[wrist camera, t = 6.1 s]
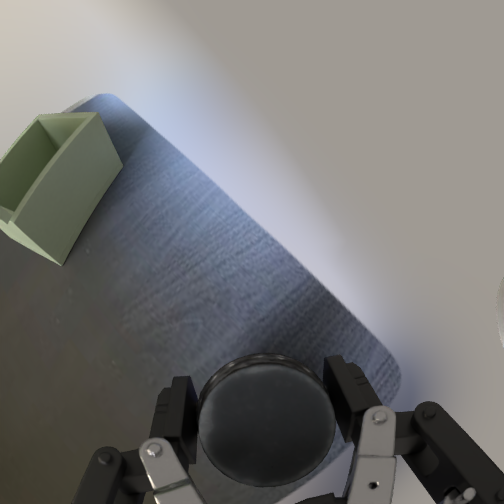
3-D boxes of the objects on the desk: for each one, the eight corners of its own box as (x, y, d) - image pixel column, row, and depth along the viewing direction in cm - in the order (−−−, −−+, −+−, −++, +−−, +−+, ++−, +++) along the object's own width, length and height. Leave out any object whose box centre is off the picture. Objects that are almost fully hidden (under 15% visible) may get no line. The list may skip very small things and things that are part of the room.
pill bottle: (199, 400, 18) (141, 411, 8) (263, 347, 20) (272, 305, 10) (257, 460, 16) (259, 530, 6) (322, 406, 18) (388, 421, 8)
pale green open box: (64, 157, 30) (38, 114, 23) (123, 166, 28) (98, 112, 21) (10, 237, 25) (-28, 201, 18) (62, 266, 23) (13, 223, 16)
